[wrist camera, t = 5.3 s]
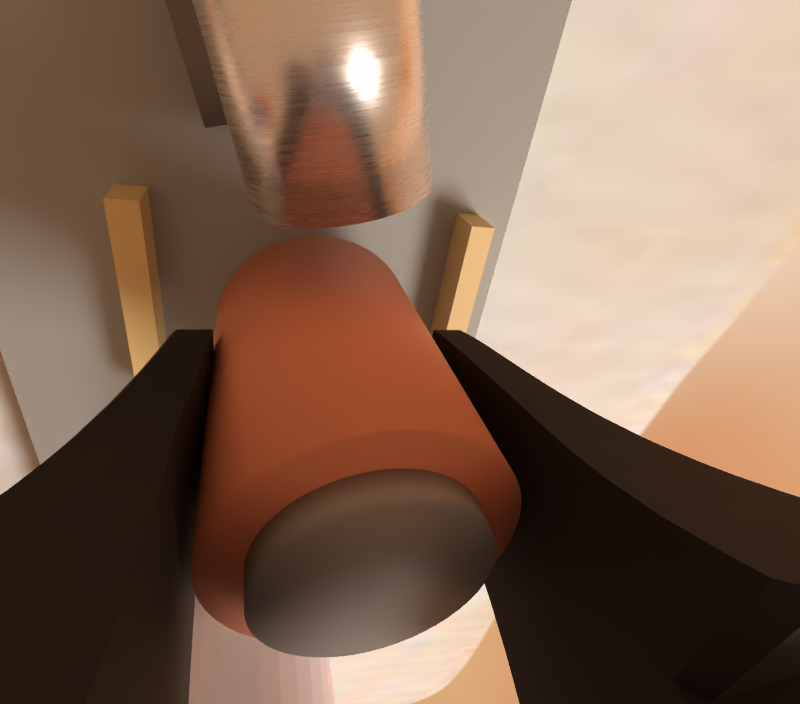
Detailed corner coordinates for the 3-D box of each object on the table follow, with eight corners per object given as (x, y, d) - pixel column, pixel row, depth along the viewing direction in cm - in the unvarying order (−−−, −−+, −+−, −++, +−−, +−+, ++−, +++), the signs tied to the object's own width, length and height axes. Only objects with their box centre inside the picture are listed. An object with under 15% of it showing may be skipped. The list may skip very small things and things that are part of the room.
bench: (423, 469, 19) (477, 604, 14) (71, 502, 15) (1, 697, 11) (560, -48, 10) (793, -99, 6) (-171, -260, 7) (-988, -814, 2)
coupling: (397, 391, 13) (499, 636, 8) (226, 407, 12) (211, 710, 6) (416, 235, 10) (582, 439, 5) (203, 235, 9) (151, 497, 4)
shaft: (407, 139, 11) (489, 199, 7) (226, 168, 10) (216, 251, 6) (385, -147, 8) (499, -285, 4) (136, -131, 7) (32, -276, 4)
